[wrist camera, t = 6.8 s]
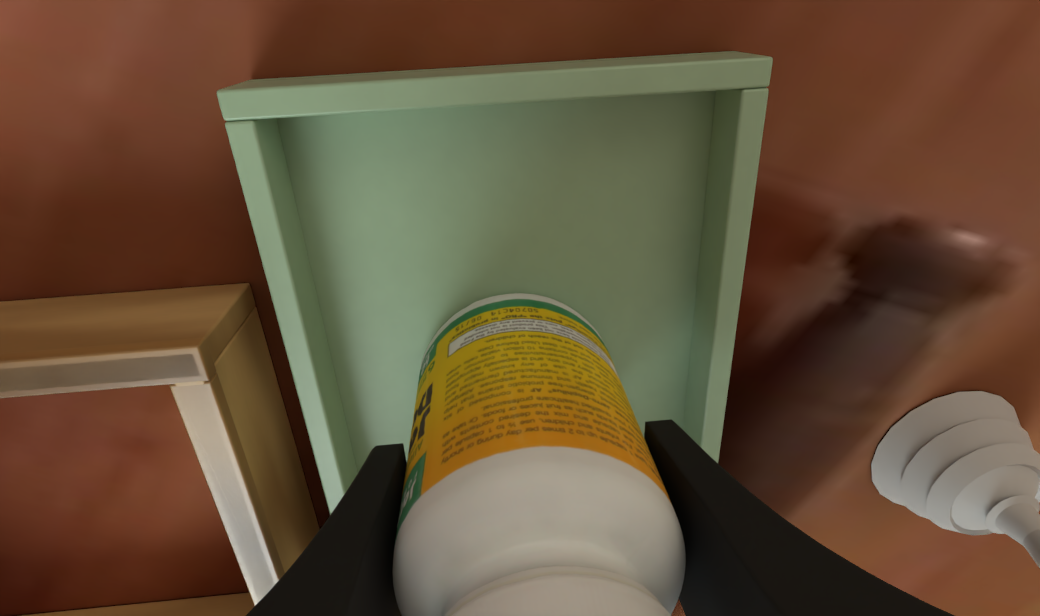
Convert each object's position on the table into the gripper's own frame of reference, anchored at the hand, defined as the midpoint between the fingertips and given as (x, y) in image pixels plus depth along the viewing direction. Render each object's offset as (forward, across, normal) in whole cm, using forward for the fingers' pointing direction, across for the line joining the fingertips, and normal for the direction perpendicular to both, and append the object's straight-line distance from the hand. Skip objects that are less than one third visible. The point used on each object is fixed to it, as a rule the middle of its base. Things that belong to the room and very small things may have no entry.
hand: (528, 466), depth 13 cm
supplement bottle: (+4, 0, 0) cm, 4 cm away
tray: (+4, 0, 0) cm, 4 cm away
